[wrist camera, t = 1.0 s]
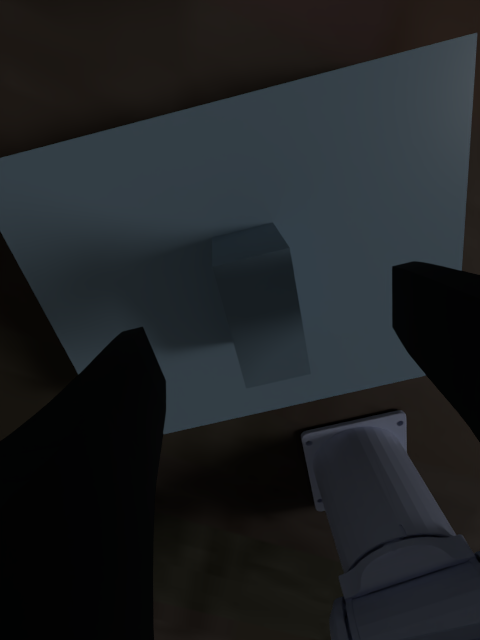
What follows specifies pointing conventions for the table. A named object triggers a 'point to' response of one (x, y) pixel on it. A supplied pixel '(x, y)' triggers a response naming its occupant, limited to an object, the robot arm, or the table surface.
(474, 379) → the robot arm
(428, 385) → the table surface
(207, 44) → the table surface
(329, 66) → the table surface
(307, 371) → the snap lid
